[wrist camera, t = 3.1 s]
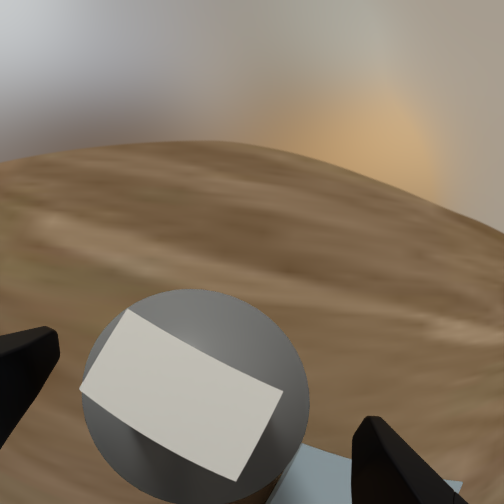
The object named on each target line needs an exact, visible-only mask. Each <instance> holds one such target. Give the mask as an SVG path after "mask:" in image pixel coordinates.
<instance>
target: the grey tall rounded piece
mask: <svg viewBox="0 0 504 504" xmlns="http://www.w3.org/2000/svg"><path fill="white" fill-rule="evenodd" d="M79 390H80V391H82V403H83V410H84V415H85V420H86V423H87V426H88V429H89V432H90V435H91V437H92V439H93V441H94V443H95V445H96V447H97V448H98V450H99V451H100V453H101V454H102V456H103V457H104V459H105V460H106V461H107V462H108V464H109V465H110V466H111V467H112V468H113V469H114V470H115V471H116V472H117V473H118V474H119V475H120V476H121V477H122V478H124V479H125V480H126V481H127V482H129V483H130V484H132V485H133V486H135V487H136V488H138V489H139V490H141V491H143V492H145V493H147V494H149V495H151V496H153V497H156V498H158V499H161V500H164V501H167V502H171V503H176V504H226V503H230V502H234V501H237V500H240V499H242V498H245V497H247V496H249V495H251V494H253V493H255V492H257V491H259V490H261V489H262V488H264V487H265V486H266V485H268V484H269V483H271V482H272V481H273V480H274V479H275V478H276V477H277V476H278V475H280V474H281V473H282V472H283V470H284V469H285V468H286V467H287V465H288V464H289V463H290V462H291V460H292V459H293V457H294V455H295V454H296V452H297V450H298V449H299V447H300V444H301V442H302V439H303V437H304V434H305V431H306V427H307V423H308V416H309V407H310V404H309V388H308V383H307V377H306V374H305V371H304V368H303V364H302V362H301V360H300V358H299V356H298V354H297V351H296V350H295V348H294V347H293V345H292V343H291V342H290V340H289V339H288V337H287V336H286V335H285V334H284V333H283V331H282V330H281V329H280V328H279V327H278V326H277V325H276V324H275V323H274V322H273V321H272V320H271V319H270V318H269V317H267V316H266V315H265V314H263V313H262V312H261V311H259V310H258V309H257V308H255V307H253V306H251V305H249V304H248V303H246V302H244V301H242V300H239V299H237V298H235V297H232V296H229V295H226V294H222V293H219V292H214V291H208V290H200V289H182V290H172V291H167V292H162V293H159V294H156V295H153V296H150V297H147V298H145V299H143V300H141V301H138V302H136V303H135V304H133V305H131V306H130V307H128V308H127V309H125V310H124V311H122V312H121V313H120V314H119V315H118V316H116V317H115V318H114V319H113V320H112V321H111V322H110V323H109V324H108V325H107V327H106V328H105V329H104V330H103V332H102V333H101V334H100V336H99V337H98V339H97V340H96V342H95V344H94V346H93V348H92V350H91V352H90V354H89V357H88V360H87V363H86V366H85V371H84V375H83V383H82V385H81V387H80V388H79Z"/></svg>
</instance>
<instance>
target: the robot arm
mask: <svg viewBox="0 0 504 504" xmlns="http://www.w3.org/2000/svg"><path fill="white" fill-rule="evenodd" d="M59 357H60V348H59V340H58V334H57V332H56V331H55V330H54V329H52V328H49V327H47V326H42V327H38V328H34V329H29V330H25V331H20V332H16V333H11V334H6V335H2V336H0V449H1V448H2V446H3V445H4V443H5V441H6V440H7V438H8V437H9V435H10V434H11V433H12V431H13V430H14V428H15V427H16V425H17V424H18V422H19V421H20V419H21V418H22V417H23V415H24V414H25V412H26V411H27V410H28V408H29V407H30V405H31V404H32V403H33V401H34V400H35V398H36V397H37V395H38V394H39V392H40V391H41V389H42V387H43V385H44V384H45V382H46V380H47V378H48V377H49V375H50V373H51V372H52V370H53V368H54V367H55V365H56V363H57V362H58V360H59ZM351 498H352V504H468V503H467V502H466V501H465V500H464V499H463V498H462V497H461V496H460V495H459V494H458V493H457V492H454V489H453V488H451V487H450V486H449V485H448V484H447V483H446V482H445V481H444V480H443V479H442V478H441V477H440V476H439V475H438V474H437V473H436V472H435V471H434V470H433V469H432V468H431V467H430V466H429V465H428V464H427V463H426V462H425V461H424V460H423V459H422V458H421V457H420V456H419V455H418V454H417V453H416V452H415V451H414V450H413V449H412V448H411V447H410V446H409V445H408V444H407V443H406V442H405V441H404V440H403V439H402V438H401V437H400V436H399V435H398V434H397V433H396V432H395V431H394V430H393V429H392V428H391V427H390V426H389V425H388V424H387V423H386V422H385V421H384V420H383V419H382V418H381V417H379V416H367V417H365V418H364V420H363V421H362V423H361V424H360V426H359V427H358V429H357V430H356V432H355V433H354V436H353V439H352V464H351Z"/></svg>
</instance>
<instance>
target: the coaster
mask: <svg viewBox="0 0 504 504" xmlns="http://www.w3.org/2000/svg"><path fill="white" fill-rule="evenodd" d="M351 464H352V459H348V458H345V457H342V456H338V455H335V454H332V453H329V452H326V451H323V450H320V449H317V448H314V447H311V446H309V445H306V444H303V443H301V444H300V447H299V449H298V450H297V452H296V454H295V455H294V457H293V459H292V460H291V462H290V463H289V464H288V465H287V467H286V468H285V470H284V471H283V473H282V475H281V477H280V479H279V481H278V482H277V484H276V486H275V488H274V489H273V491H272V493H271V495H270V496H269V498H268V500H267V501H266V503H265V504H352V498H351ZM443 480H444V479H443ZM444 481H445V482H446V483H447V484H448V485H449V486H450V487H451V488H453V489H454V492H457V493H459V491H460V488H461V486H462V484H463V482H460V481H452V480H444Z"/></svg>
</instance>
